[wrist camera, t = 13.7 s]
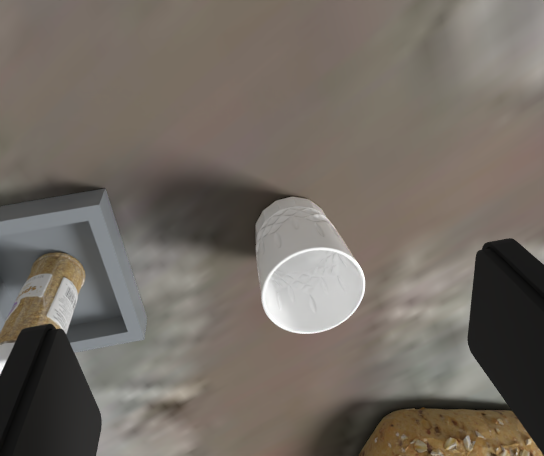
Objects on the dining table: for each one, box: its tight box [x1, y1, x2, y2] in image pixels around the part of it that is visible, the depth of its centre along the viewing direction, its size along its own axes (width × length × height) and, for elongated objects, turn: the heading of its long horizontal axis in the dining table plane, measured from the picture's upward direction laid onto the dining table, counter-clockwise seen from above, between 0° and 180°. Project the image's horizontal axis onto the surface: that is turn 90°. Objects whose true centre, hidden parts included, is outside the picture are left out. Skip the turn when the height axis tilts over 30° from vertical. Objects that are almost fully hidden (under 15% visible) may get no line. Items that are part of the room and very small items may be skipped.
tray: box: [0, 188, 147, 353], centre depth 42 cm, size 14×12×3 cm
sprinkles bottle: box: [0, 252, 85, 374], centre depth 37 cm, size 5×5×13 cm
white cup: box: [255, 196, 365, 334], centre depth 41 cm, size 8×8×10 cm
